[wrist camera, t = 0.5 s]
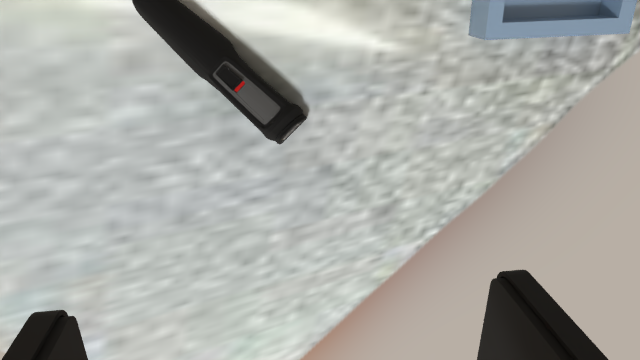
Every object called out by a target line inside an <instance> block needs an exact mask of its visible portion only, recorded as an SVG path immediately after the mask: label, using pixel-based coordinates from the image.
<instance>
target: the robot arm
mask: <svg viewBox="0 0 640 360" xmlns="http://www.w3.org/2000/svg"><path fill="white" fill-rule="evenodd" d="M2 360H88V358H87V355H86V351H85V348H84V344H83V341H82V337H81V334H80V330H79V327H78V323H77V320H76V318H75V317H74V316H68V315H67V313H66V312H65V311H64V310H56V311H45V312H35V313H33V314H32V315H31V316H30V317H29V318H28V320H27V321H26V323H25V324H24V326H23V328H22V329H21V331H20V332H19V334H18V335H17V337H16V338H15V340H14V341H13V343H12V345H11V346H10V348H9V349H8V351H7V352H6V354H5V355H4V357H3V358H2ZM477 360H608V359H607V357H605V355H604V354H603V353H602V352H601V351H600V350H599V349H598V348H597V347H596V345H595V344H594V343H593V342H592V341H591V340H590V339H589V338H588V337H587V336H586V334H585V333H584V332H583V331H582V330H581V329H580V328H579V327H578V326H577V325H576V324H575V322H574V321H573V320H572V319H571V318H570V317H569V316H568V315H567V314H566V313H565V312H564V310H563V309H562V308H561V307H560V306H559V305H558V304H557V303H556V302H555V301H554V299H553V298H552V297H551V296H550V295H549V294H548V293H547V292H546V291H545V290H544V289H543V288H542V286H541V285H540V284H539V283H538V282H537V281H536V280H535V279H534V278H533V277H532V276H531V274H530V273H529V272H527V271H526V270H514V271H503V272H500V273H499V274H498V276H497V278H495V279H493V280H492V281H491V284H490V289H489V295H488V301H487V307H486V312H485V318H484V323H483V329H482V335H481V340H480V346H479V352H478V357H477Z"/></svg>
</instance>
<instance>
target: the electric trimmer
mask: <svg viewBox="0 0 640 360" xmlns="http://www.w3.org/2000/svg"><path fill="white" fill-rule="evenodd" d="M132 2H133V4H134V6H135V8H136V10H137V12H138V13H139V14H140V15H141V16H142V18H143V19H144V20H145V21H146V22H147V23H148V24H149V25H150V26H151V27H152V28H153V29H154V30H155V31H156V32H157V33H158V34H159V35H160V36H161V37H162V38H163V39H164V40H165V42H166V43H167V44H168V45H169V46H170V47H171V48H172V49H173V50H174V51H175V52H176V53H177V54H178V55H179V56H180V57H181V58H182V59H183V60H184V61H185V62H186V63H187V64H188V65H189V66H190V67H191V68H192V69H193V70H194V71H195V72H196V73H197V74H198V75H199V76H200V77H202V78H203V79H205V80H207V81H208V82H209V83H210V84H211V85H213V86H214V87H215V88H216V89H217V90H219V91H220V92H221V93H222V94H223V95H224V96H225V97H226V98H227V99H228V100H229V101H230V102H231V103H232V104H233V105H234V106H235V107H236V108H237V109H239V110H240V111H241V112H242V113H243V114H244V115H245V116H246V117H247V118H248V119H249V120H250V121H251V122H252V123H253V124H254V125H255V126H256V127H257V128H258V129H259V130H260V131H261V132H262V133H263V134H264V135H265V137H266V138H267V139H270V140H273V141H276V142H277V143H278V144H282V143H283V142H284V141H285V140H286V139H287V138H288V137H289V136H290V135H291V134H292V133H293V132H294V131H295V130H296V129H297V128H298V127H299V126H300V125H301V124H302V123H303V122H304V121H305V120H306V119H307V117H306V116H305V115H304V114H303V110H302V109H301V108H300V107H299V106H298V105H294V104H291V103H289V102H288V101H287V100H286V99H285V98H283V97H282V96H281V95H280V94H279V93H278V92H276V91H275V90H274V89H273V88H272V87H271V86H269V85H268V84H267V83H266V82H265V81H264V80H263V79H262V78H260V77H259V76H258V75H257V74H256V73H255V72H254V71H253V70H252V69H251V68H250V67H249V66H248V65H247V64H246V63H245V62H244V61H243V60H242V59H241V58H240V57H239V55H238V54H237V52H236V51H235V49H234V47H233V46H232V44H231V43H230V41H229V40H227V39H226V38H225V37H224V36H223V35H222V34H220V33H219V32H218V31H217V30H215V29H214V28H213V27H211V26H210V25H209V24H208V23H206V22H205V21H204V20H202V19H201V18H200V17H199V16H197V15H196V14H195V13H193V12H192V11H191V10H190V9H188V8H187V7H186V6H184V5H183V4H182V3H180V2H179V1H178V0H132ZM302 114H303V115H302ZM294 119H295V120H294Z"/></svg>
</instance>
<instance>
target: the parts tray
mask: <svg viewBox="0 0 640 360" xmlns="http://www.w3.org/2000/svg"><path fill="white" fill-rule="evenodd" d="M636 2H637V0H472V8H471V18H470V28H469V35H470V36H473V37H477V38H480V39H484V40H494V39H516V38H538V37H559V36H581V35H603V34H625V33H629V32H630V28H631V23H632V19H633V15H634V11H635V7H636Z"/></svg>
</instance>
